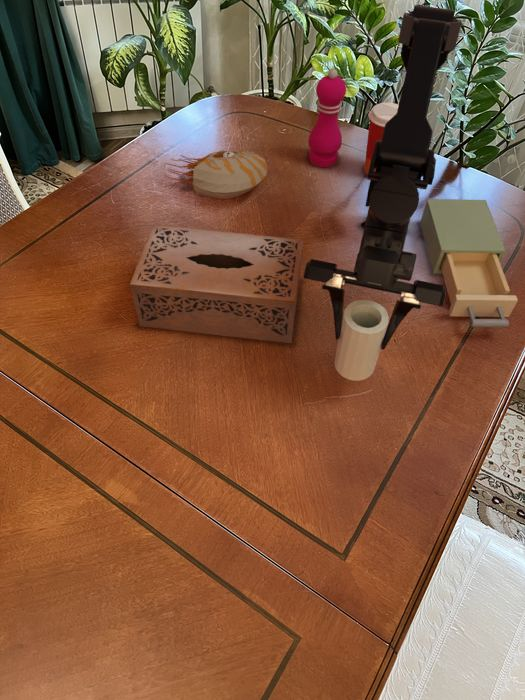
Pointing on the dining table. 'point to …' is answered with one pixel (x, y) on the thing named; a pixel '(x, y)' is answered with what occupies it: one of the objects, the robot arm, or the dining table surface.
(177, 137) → the dining table surface
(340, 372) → the jar
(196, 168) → the nautilus
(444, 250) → the cabinet
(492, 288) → the drawer
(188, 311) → the tissue box cover
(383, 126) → the paper cup
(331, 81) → the pepper mill
